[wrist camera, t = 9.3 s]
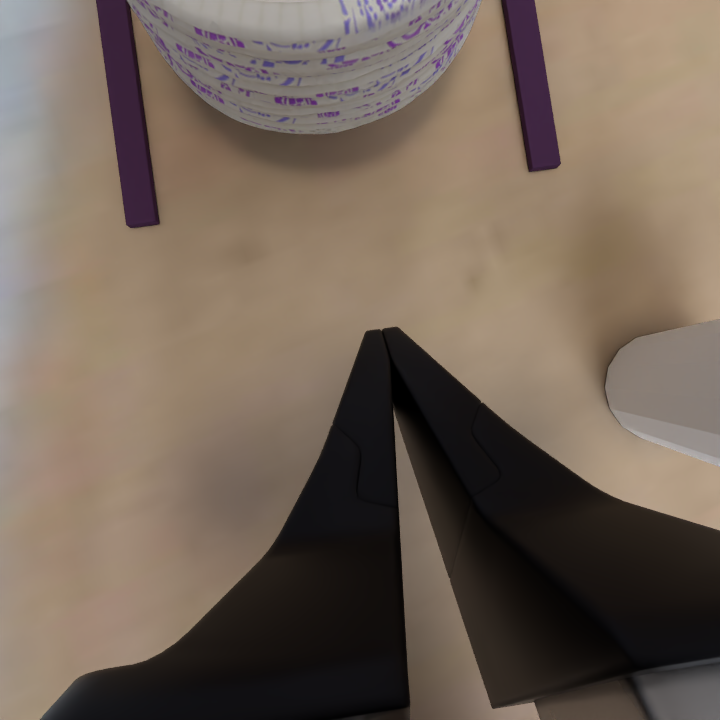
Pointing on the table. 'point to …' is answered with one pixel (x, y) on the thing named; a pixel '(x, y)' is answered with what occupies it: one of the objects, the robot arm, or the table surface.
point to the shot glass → (671, 389)
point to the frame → (133, 125)
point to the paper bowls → (308, 55)
